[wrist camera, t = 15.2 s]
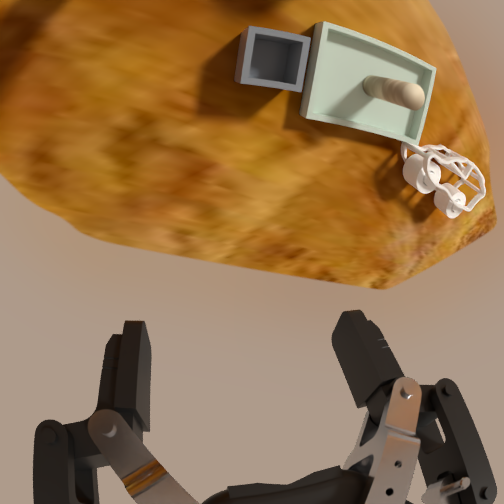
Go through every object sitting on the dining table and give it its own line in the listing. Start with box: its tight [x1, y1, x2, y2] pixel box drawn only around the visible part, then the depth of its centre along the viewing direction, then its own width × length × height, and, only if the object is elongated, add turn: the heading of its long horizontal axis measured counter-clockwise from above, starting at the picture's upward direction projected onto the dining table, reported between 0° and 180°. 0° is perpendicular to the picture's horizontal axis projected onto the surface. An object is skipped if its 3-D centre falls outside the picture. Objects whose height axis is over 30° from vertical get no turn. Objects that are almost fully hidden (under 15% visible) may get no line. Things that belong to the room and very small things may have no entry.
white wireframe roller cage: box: [401, 141, 486, 218], centre depth 42 cm, size 20×11×7 cm, turn 62°
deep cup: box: [234, 26, 311, 92], centre depth 29 cm, size 7×7×6 cm
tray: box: [299, 21, 436, 146], centre depth 34 cm, size 14×20×3 cm
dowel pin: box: [363, 75, 425, 111], centre depth 30 cm, size 3×3×10 cm
